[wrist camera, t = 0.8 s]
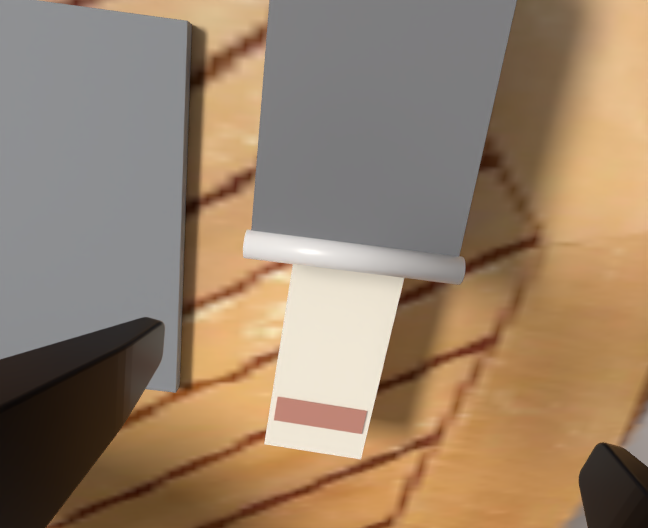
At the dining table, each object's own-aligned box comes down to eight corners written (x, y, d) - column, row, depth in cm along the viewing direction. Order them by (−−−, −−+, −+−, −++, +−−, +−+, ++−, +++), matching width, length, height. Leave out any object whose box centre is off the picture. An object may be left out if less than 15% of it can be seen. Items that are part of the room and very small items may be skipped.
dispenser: (427, 247, 21) (461, 288, 15) (265, 226, 21) (242, 261, 15) (490, -66, 17) (563, -154, 12) (293, -94, 17) (276, -197, 11)
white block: (356, 412, 24) (361, 460, 20) (273, 399, 24) (264, 445, 20) (417, 147, 20) (435, 150, 16) (317, 128, 20) (314, 128, 16)
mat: (179, 386, 23) (175, 392, 22) (-74, 356, 23) (-84, 362, 22) (192, 24, 18) (187, 21, 18) (-132, -20, 18) (-148, -25, 17)
